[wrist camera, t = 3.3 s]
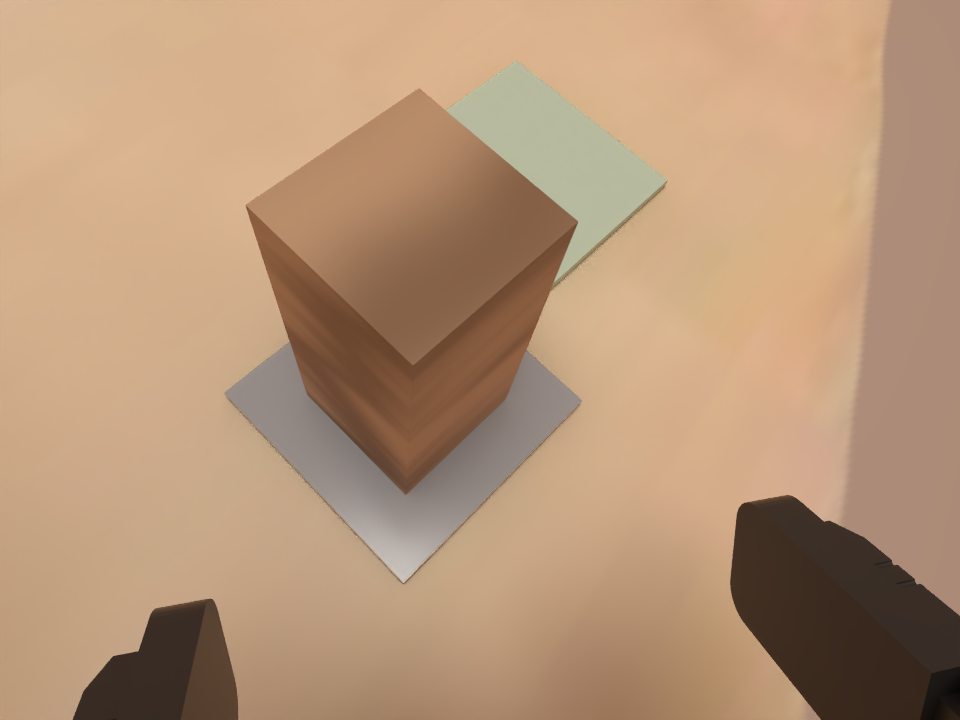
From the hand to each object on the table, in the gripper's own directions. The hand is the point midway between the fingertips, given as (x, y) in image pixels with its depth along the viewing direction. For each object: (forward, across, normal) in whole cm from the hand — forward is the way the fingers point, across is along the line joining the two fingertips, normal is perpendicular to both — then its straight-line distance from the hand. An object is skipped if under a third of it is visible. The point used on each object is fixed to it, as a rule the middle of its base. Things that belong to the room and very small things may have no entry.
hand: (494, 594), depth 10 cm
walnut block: (+14, 0, +3) cm, 15 cm away
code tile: (+15, 0, +3) cm, 15 cm away
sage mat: (+21, -6, -3) cm, 22 cm away
